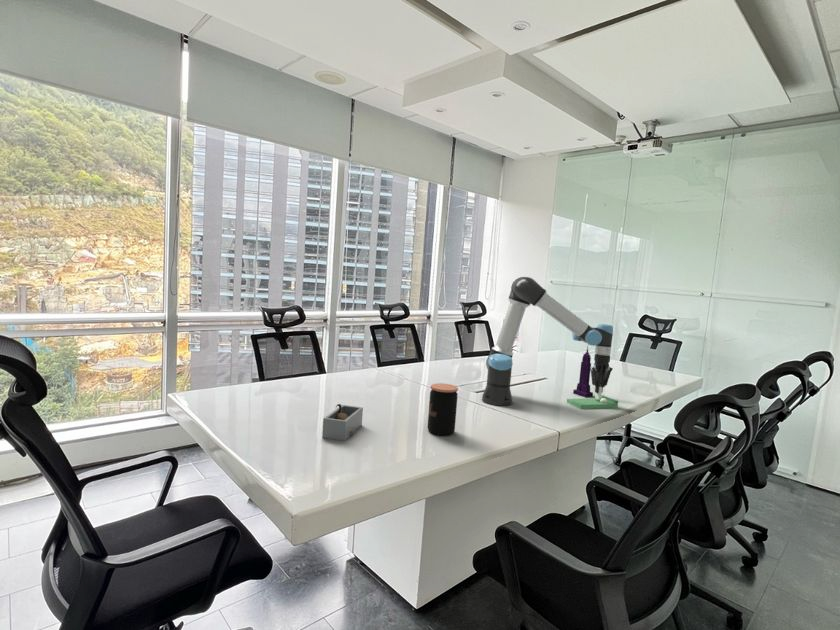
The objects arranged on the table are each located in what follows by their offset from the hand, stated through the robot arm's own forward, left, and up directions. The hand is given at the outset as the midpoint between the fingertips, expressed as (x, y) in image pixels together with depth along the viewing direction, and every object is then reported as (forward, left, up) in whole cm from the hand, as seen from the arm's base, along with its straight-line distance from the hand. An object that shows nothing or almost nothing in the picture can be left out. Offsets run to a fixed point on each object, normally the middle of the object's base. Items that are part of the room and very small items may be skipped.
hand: (597, 398), depth 234 cm
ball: (+3, +2, -3) cm, 5 cm away
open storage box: (-106, -88, -3) cm, 138 cm away
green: (-3, -2, -3) cm, 5 cm away
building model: (-4, +20, -4) cm, 20 cm away
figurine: (-107, -88, -3) cm, 139 cm away
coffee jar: (-71, -74, -4) cm, 103 cm away
